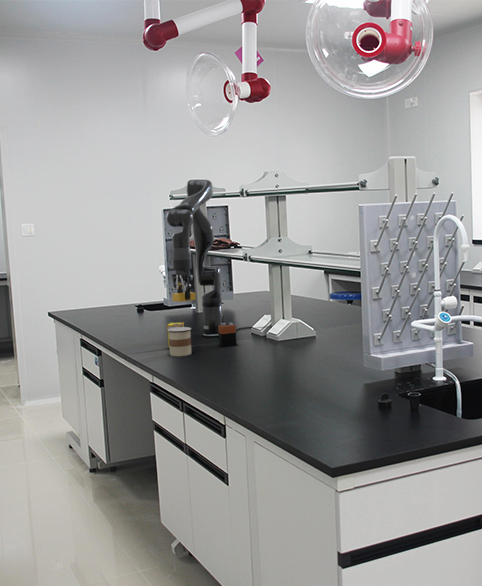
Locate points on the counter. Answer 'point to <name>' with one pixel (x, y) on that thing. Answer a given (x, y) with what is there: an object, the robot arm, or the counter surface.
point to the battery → (227, 334)
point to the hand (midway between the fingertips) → (184, 298)
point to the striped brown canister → (180, 341)
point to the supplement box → (174, 325)
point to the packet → (183, 297)
